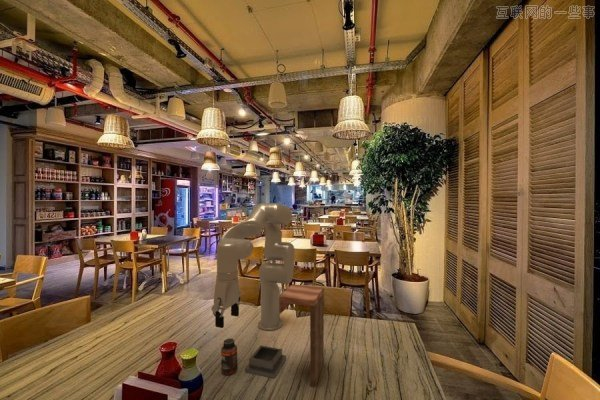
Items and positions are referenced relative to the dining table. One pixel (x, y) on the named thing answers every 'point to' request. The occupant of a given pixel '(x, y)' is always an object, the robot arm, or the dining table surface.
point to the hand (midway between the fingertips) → (227, 321)
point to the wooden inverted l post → (316, 302)
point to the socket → (266, 362)
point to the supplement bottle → (229, 357)
